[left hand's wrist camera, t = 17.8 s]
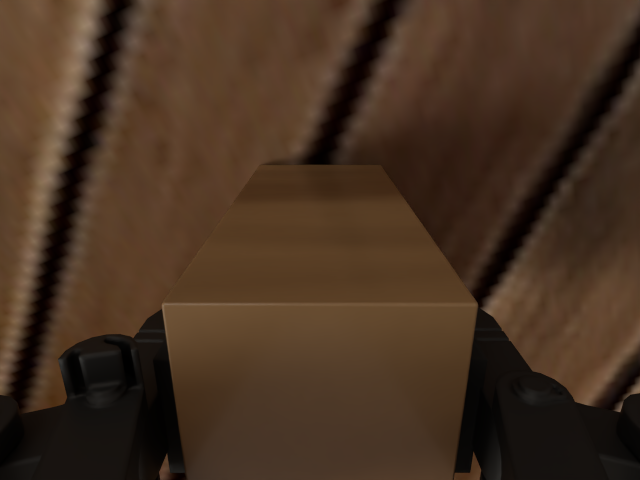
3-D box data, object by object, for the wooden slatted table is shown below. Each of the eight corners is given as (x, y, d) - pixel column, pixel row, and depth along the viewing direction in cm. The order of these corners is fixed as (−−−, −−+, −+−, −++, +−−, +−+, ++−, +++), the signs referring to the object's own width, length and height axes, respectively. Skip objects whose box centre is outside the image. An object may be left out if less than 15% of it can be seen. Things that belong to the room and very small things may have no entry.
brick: (259, 164, 17) (159, 303, 6) (381, 164, 17) (479, 303, 6) (266, 309, 19) (200, 588, 8) (374, 309, 19) (439, 589, 8)
